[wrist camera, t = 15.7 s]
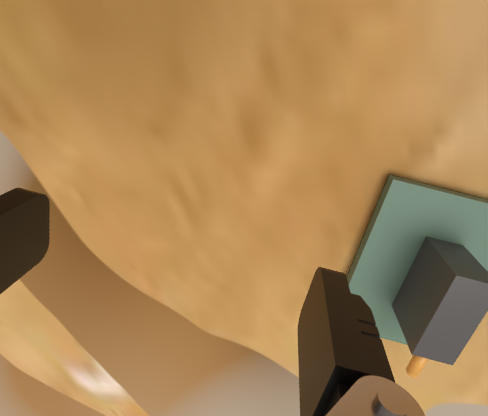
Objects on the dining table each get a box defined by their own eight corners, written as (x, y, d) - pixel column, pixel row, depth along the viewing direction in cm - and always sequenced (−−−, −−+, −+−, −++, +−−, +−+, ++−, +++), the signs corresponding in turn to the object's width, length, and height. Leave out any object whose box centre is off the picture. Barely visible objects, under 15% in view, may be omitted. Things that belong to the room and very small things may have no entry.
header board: (389, 174, 35) (406, 194, 30) (530, 210, 35) (571, 236, 30) (330, 316, 42) (336, 351, 37) (446, 346, 42) (468, 386, 37)
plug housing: (426, 236, 35) (456, 275, 29) (463, 245, 35) (502, 287, 29) (378, 331, 40) (395, 382, 34) (411, 339, 40) (435, 393, 34)
